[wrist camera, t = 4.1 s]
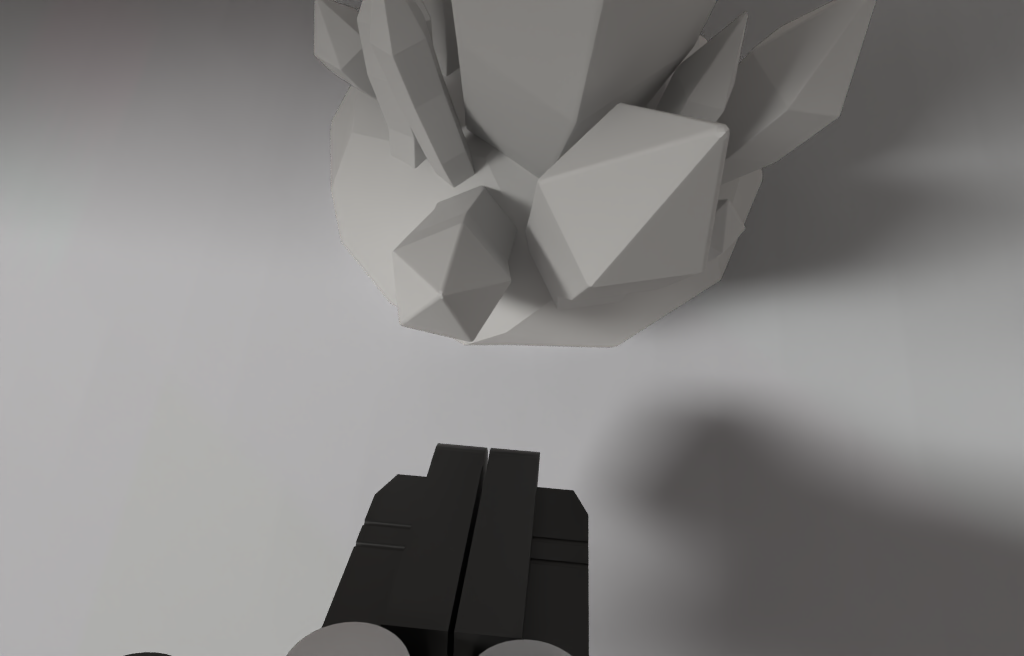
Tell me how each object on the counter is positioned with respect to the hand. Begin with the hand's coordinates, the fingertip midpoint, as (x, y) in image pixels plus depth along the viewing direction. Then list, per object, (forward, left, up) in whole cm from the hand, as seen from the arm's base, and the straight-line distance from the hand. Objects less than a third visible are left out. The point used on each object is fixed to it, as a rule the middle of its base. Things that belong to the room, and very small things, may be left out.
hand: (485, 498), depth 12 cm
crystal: (-2, +9, -4) cm, 10 cm away
